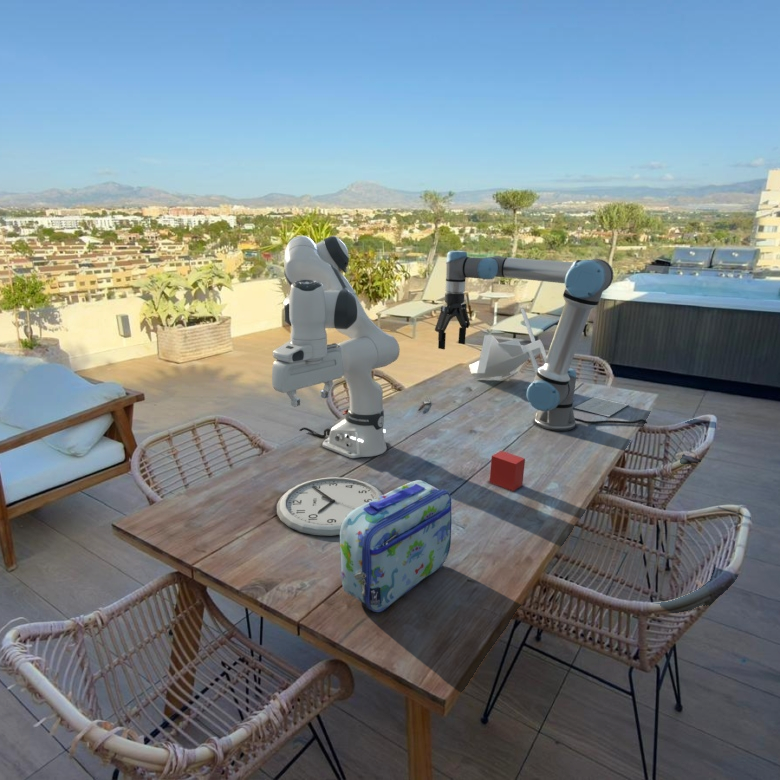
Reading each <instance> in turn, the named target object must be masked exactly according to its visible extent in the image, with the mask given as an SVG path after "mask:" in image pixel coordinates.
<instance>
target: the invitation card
mask: <svg viewBox="0 0 780 780" xmlns="http://www.w3.org/2000/svg"><path fill="white" fill-rule="evenodd" d="M628 406H629V404H627V403H623V402H618V401H614V400H609V399H605V398H601V397H596V396H593V397H592V398H590V399H588V400H586V401H584V402H582V403H580V404H578V405H575V406H574V407H573V409H575V410H581V411H584V412H587V413H593V414H596V415H600V416H604V417H608V418H609V417H611V416H613V415H614V414H616V413H617V412H619V411H621V410H623V409H624V408H626V407H628Z"/></svg>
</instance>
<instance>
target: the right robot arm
mask: <svg viewBox="0 0 780 780" xmlns="http://www.w3.org/2000/svg"><path fill="white" fill-rule="evenodd" d="M445 264H446V266H445V267H446V269H445V288H444V289H445V293H444V303H445V304H446V305H441V306H440V312H439V316H438V319H437V321H436V325H435V328H434V331H435V332H437V333H438V336H437V338H438V339H437V341H438V345H437V349H438V350H445V349H446V337H447V332H445V331H446V330H447V328H448V325H449V324H450V322H451V320H452V319H453V318H455V317H456V319H457V322H458V324H459V326H460V327H459V328H458V344H460V345H466V334H467V329H469V327H470V325H471V323H470V318H469V313H468V309H467V308H468V307H467V303H465V296H466V295H465V292H466V278H468V279H469V278H470V279H480V280H493V279H494V278H506V279H507V278H508V279H517V280H527V281H537V282H548V283H556V284H564V286H565V288H564V292H563V294H562V298H563V299H564V306H563V308H562V311H561V314H560V317H559V321H558V322H557V326H556V327H555V330H554V331H555V332H554V334H553V336H552V337H553V338H552V340H551V343H550V346H549V349H548V352H547V353H546V355H547V357H546V360H545V362H544V363H543V365H542V366H540V367H538V370H537V373H536V374H535V376H534V379H533V381H532V382H531V383H530V384H529V385H528V387H527V389H526V399H527V401H528V403H529V404H530V406H531V407H532V408H534V409H535V410H537V411H536V413H535V416H534V424H535V425H536V426H537V427H539V428H542V429H544V430H549V431H556V432H567V431H572V430H574V429H575V428H576V422H579V423H583V424H591V425H593V424H595V425H597V424H625V425H627V424H629V425H630V424H631V425H632V424H638V423H641V422H643V423H644V424H648V421H647V420H646V419H643V418H641V419H637V420H628V421H627V420H609V419H608V420H607V419H605V420H593V421H592V420H584V419H581V418H577V417H576V416H575V413H574V407H573V405H574V398H575V390H576V383H577V379H578V378H577V371H576V370H575V369H574V368H571V365H572V362H573V359H574V356H575V354H576V352H577V349H578V346H579V343H580V340H581V337H582V335H583V332H584V330H585V327H586V324H587V321H588V318H589V316H590V313H591V311H592V309H594V308H596V307H597V306H598V305H599V303H600V301H601V297H602V295H603V293H604V291H606V290H607V289H608V288H609V287H610V286H611V284H612V283H613V280H614V269H613V267H612V266H611V264H610V263H608V262H607V260H606V261H605V260H604V259H600V258H594V259H577V260H574V262H573V261H572V262H571V261H560V260H545V259H535V258H534V259H532V258H520V257H519V258H518V257H505V256H501V255H494V256H485V257H484V256H483V257H470V256H468V253H467V252H466V251H464V250H450V251H448V252H447V255H446V262H445Z"/></svg>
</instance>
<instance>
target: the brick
mask: <svg viewBox="0 0 780 780" xmlns="http://www.w3.org/2000/svg"><path fill="white" fill-rule="evenodd" d="M525 463H526V458H524V457H521V456H518V455H516V454H513V453H509V452H506V451H505V450H504V451H503V450H499V451H498V452H496V453H493V455H491V460H490V473H489V483H491V484H493V485H496V486H498V487H501V488H504V489H506V490H508V491H511V492H514V491H516V490H517V489H519V488H520V487H522V486H523V484H524V483H523V482H524V473H525V465H526V464H525Z"/></svg>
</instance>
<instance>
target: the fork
mask: <svg viewBox="0 0 780 780" xmlns="http://www.w3.org/2000/svg"><path fill="white" fill-rule="evenodd" d="M431 401H432V396H425V399H424V402H423V404H422V405H420V407H419V409H418V411H420V410H422V409H423V408H425V406H426V404H427V405H428V404H430V403H431Z"/></svg>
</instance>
